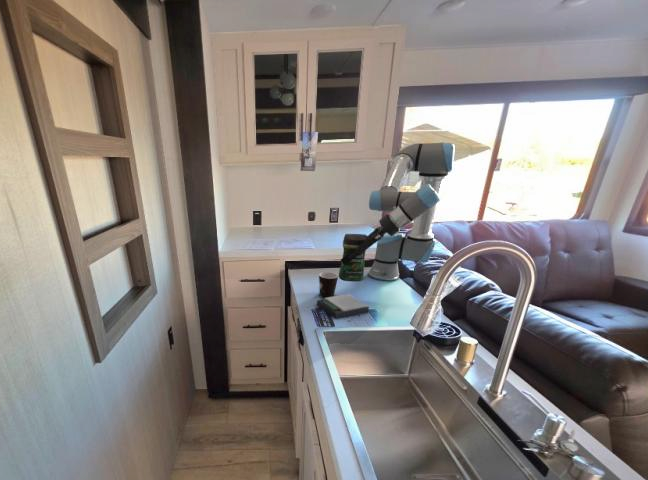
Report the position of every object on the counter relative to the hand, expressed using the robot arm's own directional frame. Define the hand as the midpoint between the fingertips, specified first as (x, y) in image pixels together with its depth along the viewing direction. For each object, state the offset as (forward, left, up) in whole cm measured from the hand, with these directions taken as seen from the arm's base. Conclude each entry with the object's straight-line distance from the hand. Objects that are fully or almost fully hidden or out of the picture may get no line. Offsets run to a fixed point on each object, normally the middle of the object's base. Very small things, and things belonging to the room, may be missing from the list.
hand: (344, 259), depth 126 cm
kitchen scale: (0, +2, -21) cm, 21 cm away
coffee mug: (-3, -14, -21) cm, 26 cm away
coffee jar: (-2, +2, -8) cm, 9 cm away
